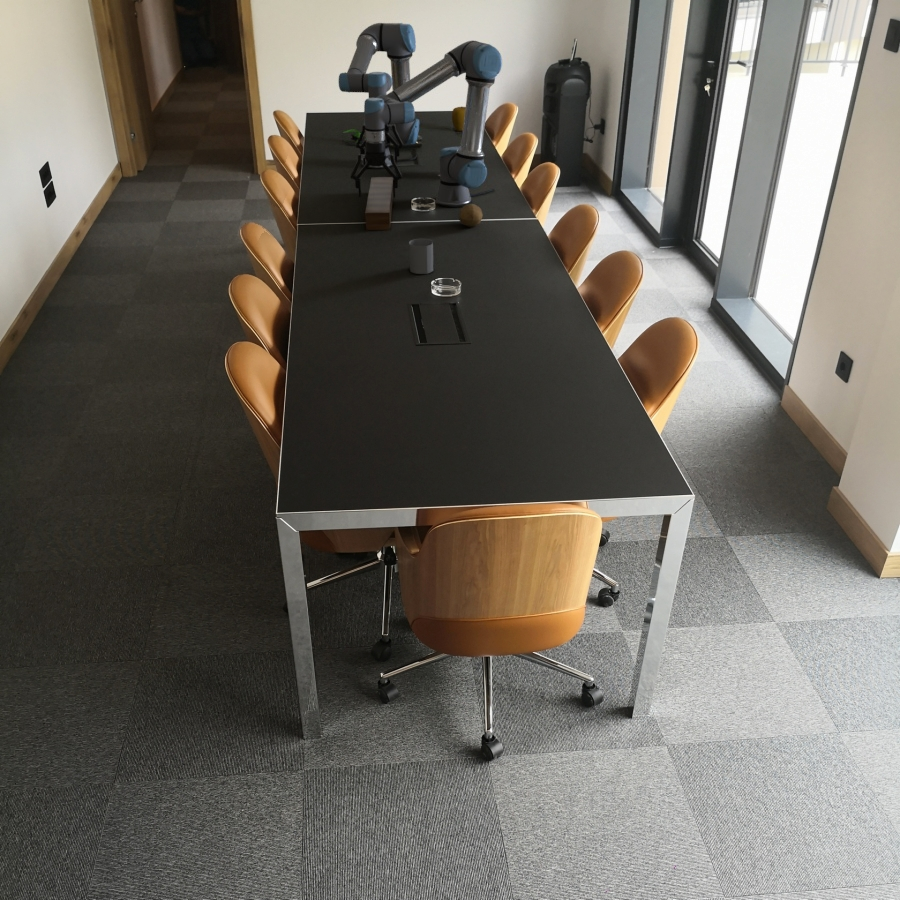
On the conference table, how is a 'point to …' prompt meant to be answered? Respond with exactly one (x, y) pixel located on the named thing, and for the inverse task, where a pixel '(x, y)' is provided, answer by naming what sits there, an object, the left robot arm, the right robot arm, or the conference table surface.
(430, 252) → the cup
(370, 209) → the wooden beam
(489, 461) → the conference table surface
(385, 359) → the conference table surface
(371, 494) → the conference table surface
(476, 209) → the potato
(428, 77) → the right robot arm
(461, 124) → the yellow piece
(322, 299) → the conference table surface
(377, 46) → the left robot arm
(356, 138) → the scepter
